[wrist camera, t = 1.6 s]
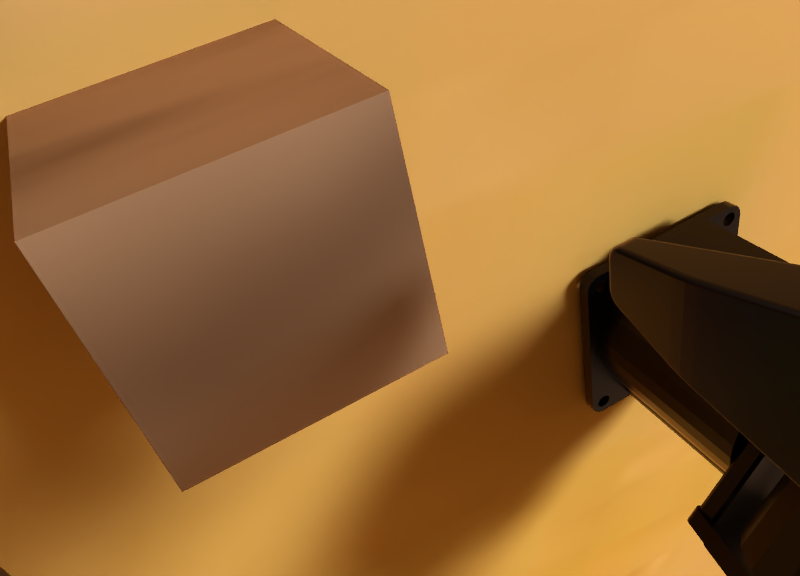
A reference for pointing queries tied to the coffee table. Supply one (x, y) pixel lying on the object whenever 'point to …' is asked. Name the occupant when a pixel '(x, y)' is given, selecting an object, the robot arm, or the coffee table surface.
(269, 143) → the walnut cube
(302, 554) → the coffee table surface
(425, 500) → the coffee table surface
